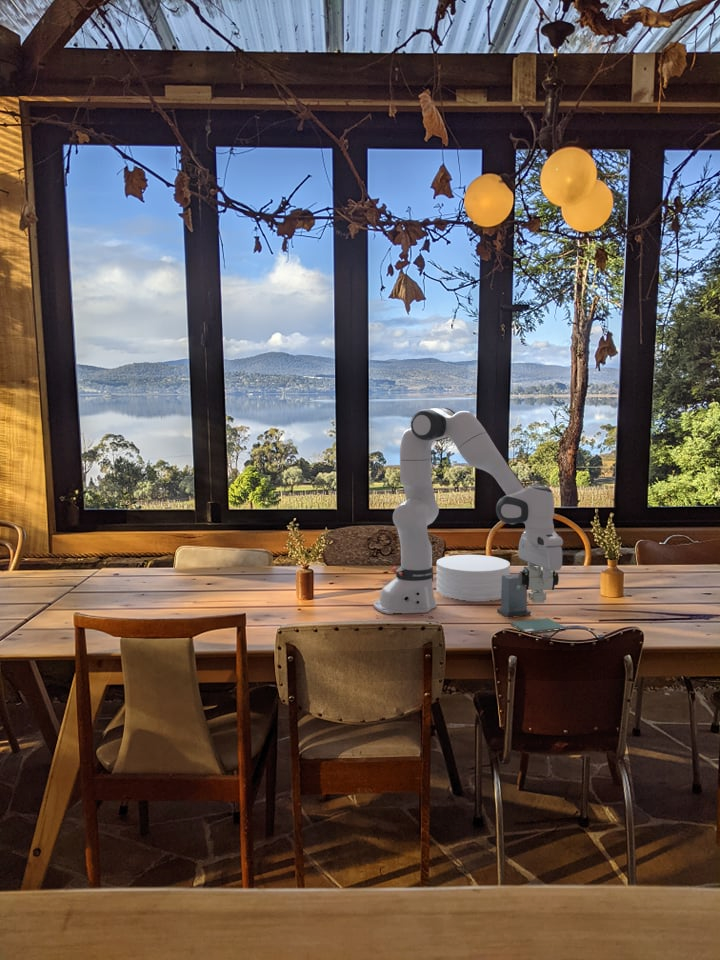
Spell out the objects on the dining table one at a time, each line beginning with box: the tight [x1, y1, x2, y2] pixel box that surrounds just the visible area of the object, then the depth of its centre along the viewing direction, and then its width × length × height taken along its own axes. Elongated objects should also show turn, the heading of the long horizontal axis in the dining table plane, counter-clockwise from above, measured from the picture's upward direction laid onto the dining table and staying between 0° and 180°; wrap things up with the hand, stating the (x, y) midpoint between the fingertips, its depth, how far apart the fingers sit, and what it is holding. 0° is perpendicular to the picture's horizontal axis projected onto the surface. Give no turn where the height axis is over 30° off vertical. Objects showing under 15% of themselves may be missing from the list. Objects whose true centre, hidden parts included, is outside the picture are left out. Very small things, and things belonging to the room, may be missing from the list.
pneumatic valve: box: [518, 565, 560, 604], centre depth 219 cm, size 6×12×12 cm, turn 91°
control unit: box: [496, 573, 532, 618], centre depth 233 cm, size 9×7×13 cm
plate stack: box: [435, 554, 511, 602], centre depth 263 cm, size 28×28×12 cm
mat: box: [510, 617, 565, 634], centre depth 220 cm, size 14×10×1 cm
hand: (538, 578), depth 218 cm, fingers closed on pneumatic valve, 5 cm apart
